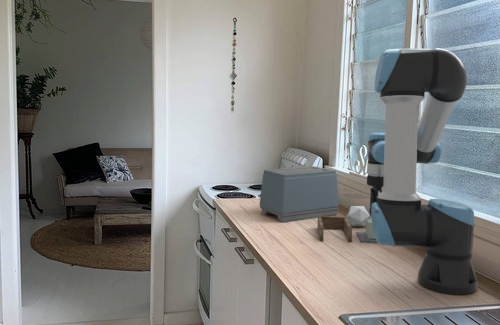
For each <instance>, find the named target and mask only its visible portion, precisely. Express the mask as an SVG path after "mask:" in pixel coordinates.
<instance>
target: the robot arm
mask: <svg viewBox="0 0 500 325" xmlns="http://www.w3.org/2000/svg"><path fill="white" fill-rule="evenodd" d="M467 78H468V77H467V71H466V68H465V66H464V64H463V63H462V61H461V60H460V58H459V57H458V56H457V55H456V54H454V53H453V52H451V51H450V50H447V49H444V48H438V47H437V48H435V47H434V48H411V47H410V48H406V47H404V48H402V47H399V48H393V49H389V48H388V49H385V50H384V51H383V52H382V53H381V54H380V57H379V59H378V63H377V68H376V72H375V79H374V91H375V92H376V93H380V94H379V95H380V96H379V99H380V100H381V101H382V103H383V104H384V105H385V115H384V132H371V133H369V134H368V140H367V152H368V153H367V165H366V173H367V175H366V185H367V186H369V187H371V188H370V197H369V200H370V202H369V211H368V213H369V215H370V217H369V219H372V225H373V239H376V241H377V242H378V243H377V244H379V245H382V246H391V247H393V248H394V247H411V248H425V255H424V257H423V260H422V262H421V265H420V267H419V270H418V271H417V272H418V273H417V282H418V283H419V284H420V285H421V286H422V287H424V288H426V289H428V290H430V291H434V292H438V293H442V294H447V295H467V294H468V295H469V294H473V293H475V292H476V291H477V290H478V289H477V288H478V279H477V276H476V272H475V269H474V268H475V267H474V264H473V262H472V254H473V242H474V241H473V239H474V228H475V226H476V225H475V212H474V210H473V209H472V207H471V206H469V205H466V204H464V203H461V202H456V201H452V200H448V199H443V198H430V199H429V200H428V202H427V204H422V197H421V196H420V195H419V194H418V193H417V192H416V190H417V164H436V163H438V162H439V161H440V159H441V154H442V149H441V148H442V147H441V144H440V142H439V141H440V139H441V136H442V134H443V132H444V129H445V127H446V125H447V122H448V119H449V118H450V115H451V113H452V110H453V109H454V107H455V104H456V102H458V101H459V100H460V99H461V98H462V97H463V95H464V93H465V90H466V88H467V83H468V82H467V81H468V80H467ZM426 93H428V97H427V100H426V103H425V106H424V109H423V111H422V114H421V116H420V120H419V105H420V103H421V102H423V100H424V99H425V97H426ZM418 122H419V123H418Z"/></svg>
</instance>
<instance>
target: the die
mask: <svg viewBox="0 0 500 325" xmlns="http://www.w3.org/2000/svg"><path fill="white" fill-rule="evenodd" d="M346 217H347V219H348V221H349V223H350V225H351V227H352V228H357V227H358V228H359V227H360V228H361V227H362V228H363V227H365V228H366V219H370V212H369V211H368V210H367V209H366V207H365V206H364V205H350V208H349V210H348V212H347V215H346Z"/></svg>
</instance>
